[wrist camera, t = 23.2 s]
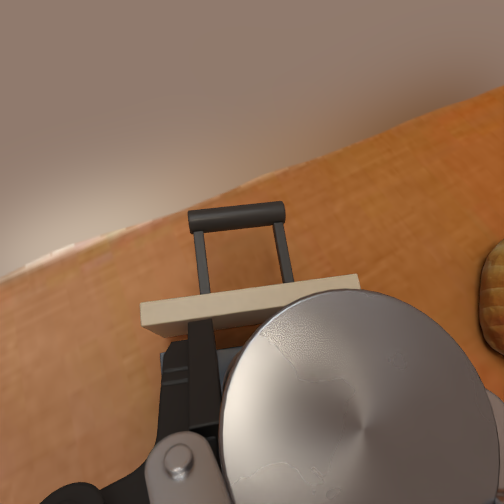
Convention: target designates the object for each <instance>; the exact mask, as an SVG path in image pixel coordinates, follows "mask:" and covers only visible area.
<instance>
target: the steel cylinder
mask: <svg viewBox="0 0 504 504" xmlns="http://www.w3.org/2000/svg"><path fill="white" fill-rule="evenodd" d="M218 442H219V457H220V463H221V468H222V474H223V479H224V482H225V486H226V489H227V492H228V496H229V499H230V501H231V503H232V504H495V498H496V497H497V492H498V487H499V476H500V446H499V438H498V432H497V425H496V421H495V417H494V413H493V410H492V406H491V403H490V400H489V398H488V395H487V393H486V390H485V387H484V385H483V383H482V381H481V379H480V377H479V375H478V373H477V371H476V369H475V368H474V366H473V365H472V363H471V362H470V360H469V359H468V357H467V356H466V354H465V352H464V351H463V350H462V349H461V348H460V346H459V345H458V344H457V343H456V341H455V340H454V339H453V338H452V337H451V336H450V335H449V334H448V333H447V332H446V331H445V330H444V329H443V328H442V327H441V326H440V325H439V324H437V323H436V322H435V321H434V320H432V319H431V318H430V317H428V316H427V315H426V314H424V313H423V312H421V311H419V310H418V309H416V308H415V307H413V306H411V305H409V304H407V303H405V302H403V301H401V300H399V299H396V298H394V297H391V296H388V295H385V294H382V293H379V292H374V291H369V290H363V289H348V288H344V289H331V290H326V291H321V292H316V293H313V294H310V295H307V296H304V297H301V298H299V299H297V300H295V301H293V302H291V303H289V304H287V305H285V306H284V307H282V308H281V309H279V310H278V311H277V312H275V313H274V314H272V315H271V316H270V317H269V318H268V319H267V320H266V321H264V322H263V323H262V324H261V325H260V326H259V327H258V328H257V329H256V330H255V332H254V333H253V334H252V335H251V336H250V338H249V339H248V340H247V341H246V343H245V344H244V346H243V347H242V349H241V350H240V351H239V352H238V353H237V354H236V355H235V356H234V358H233V359H232V361H231V362H230V364H229V366H228V368H227V370H226V373H225V376H224V380H223V387H222V400H221V405H220V412H219V427H218Z"/></svg>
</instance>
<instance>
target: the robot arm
mask: <svg viewBox="0 0 504 504" xmlns="http://www.w3.org/2000/svg"><path fill="white" fill-rule="evenodd" d="M485 390H486V393H487V395H488V398H489V400H490V403H491V406H492V410H493V413H494V417H495V421H496V425H497V432H498V438H499V446H500V476H499V487H498V492H497V497H496V498H495V504H504V403H503V401H502V400H501V399H500V398H499V397H497V396H496V395H495V394H494V393H492V392H491V391H489V390H487V389H485ZM221 400H222V393H221V384H220V375H219V367H218V359H217V351H216V343H215V336H214V328H213V321H212V318H211V319H204V320H197V321H190V322H188V340H182V341H175V342H171V344H170V346H169V347H168V349H167V351H166V352H165V354H164V356H163V366H162V378H161V391H160V404H159V416H158V429H157V438H156V443H155V446H154V448H153V449H152V451H151V452H150V454H149V456H148V458H147V459H146V460H145V462H144V463H143V464H142V465H141V466H140V467H139V468H138V469H136V470H135V471H134V472H132V473H131V474H129V475H127V476H126V477H124V478H122V479H120V480H118V481H116V482H114V483H112V484H110V485H108V486H107V487H105V488H103V489H101V490H99V489H98V488H96V487H95V486H94V485H92V484H89V483H85V482H78V483H72V484H69V485H66V486H64V487H61V488H59V489H58V490H56V491H54V492H53V493H51V494H50V495H49V496H48V497H46V498H45V499H44V500H43V501H42V502H41V503H40V504H232V503H231V501H230V499H229V496H228V492H227V489H226V486H225V482H224V479H223V474H222V468H221V463H220V457H219V442H218V427H219V412H220V405H221Z"/></svg>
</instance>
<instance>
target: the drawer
mask: <svg viewBox="0 0 504 504" xmlns="http://www.w3.org/2000/svg"><path fill="white" fill-rule="evenodd" d="M285 218H286V214H285V207H284V204H283V202H282V201H276V202H267V203H257V204H248V205H238V206H229V207H219V208H210V209H200V210H191V211H188V221H189V229H190V233H191V234H194V243H195V252H196V261H197V270H198V279H199V287H200V295H195V296H187V297H180V298H172V299H165V300H158V301H150V302H143V303H140V318H141V326H142V327H144V328H146V329H148V330H150V331H152V332H154V333H156V334H158V335H160V336H162V337H164V338H167V337H174V336H180V335H187V334H188V322H190V321H197V320H204V319H211V318H212V321H213V328H214V330H221V329H228V328H234V327H241V326H248V325H255V324H261V323H263V322H264V321H266V320H267V319H268V318H269V317H270V316H271V315H272V314H274V313H275V312H277V311H278V310H279V309H281V308H282V307H284V306H285V305H287V304H289V303H291V302H293V301H295V300H297V299H299V298H301V297H304V296H307V295H310V294H313V293H316V292H321V291H326V290H331V289H344V288H348V289H361V288H360V284H359V280H358V275H357V274H350V275H343V276H336V277H328V278H321V279H313V280H306V281H298V282H294V278H293V273H292V268H291V263H290V257H289V252H288V247H287V242H286V237H285V231H284V226H283V224H284V223H285ZM270 225H273V232H274V238H275V243H276V249H277V254H278V260H279V265H280V271H281V276H282V282H283V284H276V285H269V286H261V287H254V288H247V289H239V290H232V291H224V292H217V293H211V292H210V283H209V275H208V267H207V258H206V250H205V242H204V234H203V233H209V232H218V231H226V230H235V229H244V228H253V227H261V226H270ZM242 347H243V346H239V347H232V348H226V349H219V350H216V351H217V359H218V367H219V375H220V384H221V393H222V387H223V380H224V376H225V373H226V370H227V368H228V366H229V364H230V362H231V361H232V359H233V358H234V356H235V355H236V354H237V353H238V352H239V351H240V350H241V349H242ZM164 354H165V352H164V353H161V354H160V362H161V375H162V366H163V356H164Z"/></svg>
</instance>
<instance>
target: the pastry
mask: <svg viewBox="0 0 504 504" xmlns="http://www.w3.org/2000/svg"><path fill="white" fill-rule="evenodd" d="M480 283H481V287H480V294H479V296H480V303H479V318H480V325H481V327H482V330H483V334H484V338H485V340H486V341H487V343H488V344H489V345H490V346H491V348H493V349H494V350H496V351H498V352H499V353H501V354H503V355H504V239H503V240H502V241H500V242H499V243H498V245H497V246H496V247H495V248H494V249H493V250H492V251H491V252H490V254H489V255H488V257H487V259H486V262H485V264H484V267H483V269H482V276H481V281H480Z"/></svg>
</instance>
